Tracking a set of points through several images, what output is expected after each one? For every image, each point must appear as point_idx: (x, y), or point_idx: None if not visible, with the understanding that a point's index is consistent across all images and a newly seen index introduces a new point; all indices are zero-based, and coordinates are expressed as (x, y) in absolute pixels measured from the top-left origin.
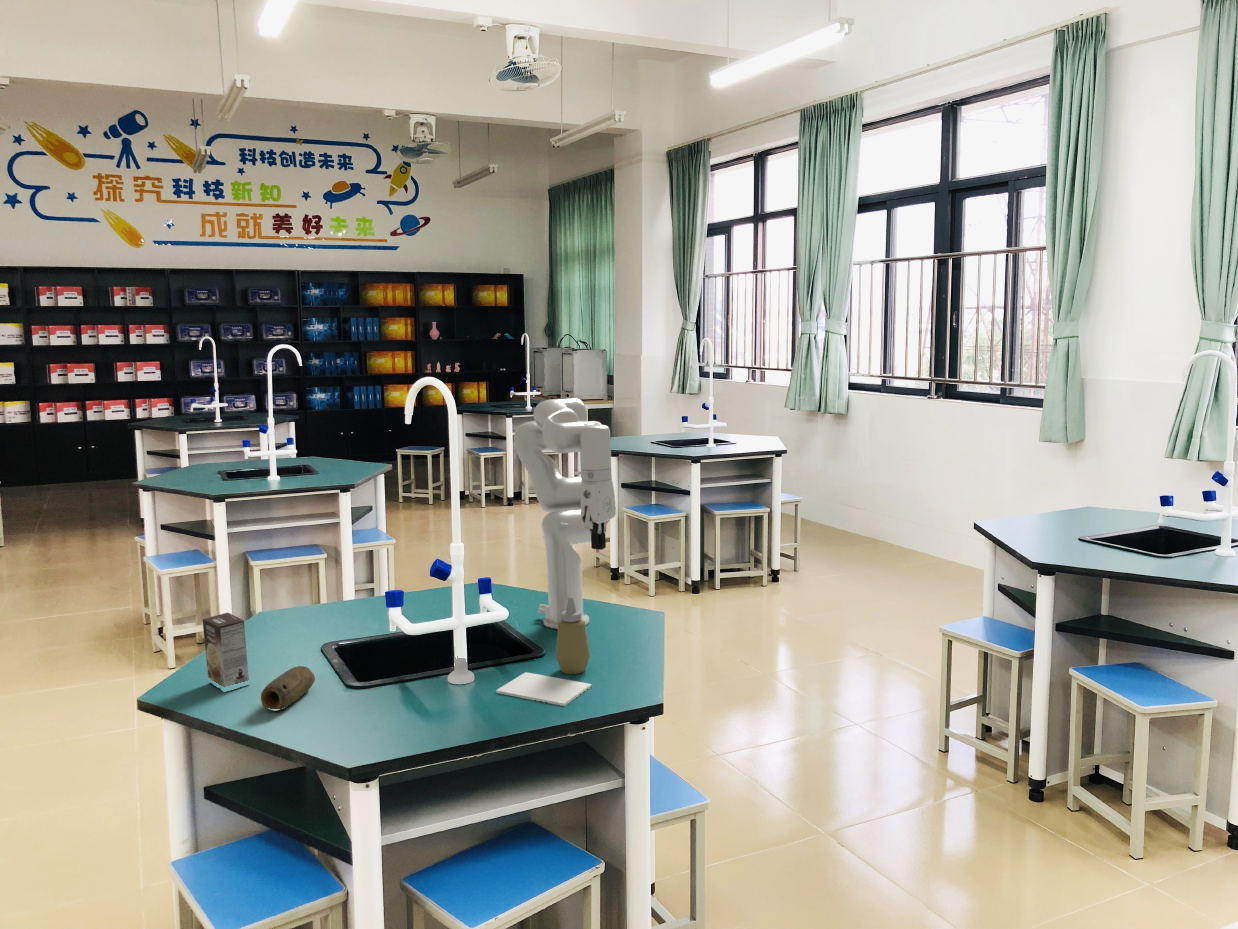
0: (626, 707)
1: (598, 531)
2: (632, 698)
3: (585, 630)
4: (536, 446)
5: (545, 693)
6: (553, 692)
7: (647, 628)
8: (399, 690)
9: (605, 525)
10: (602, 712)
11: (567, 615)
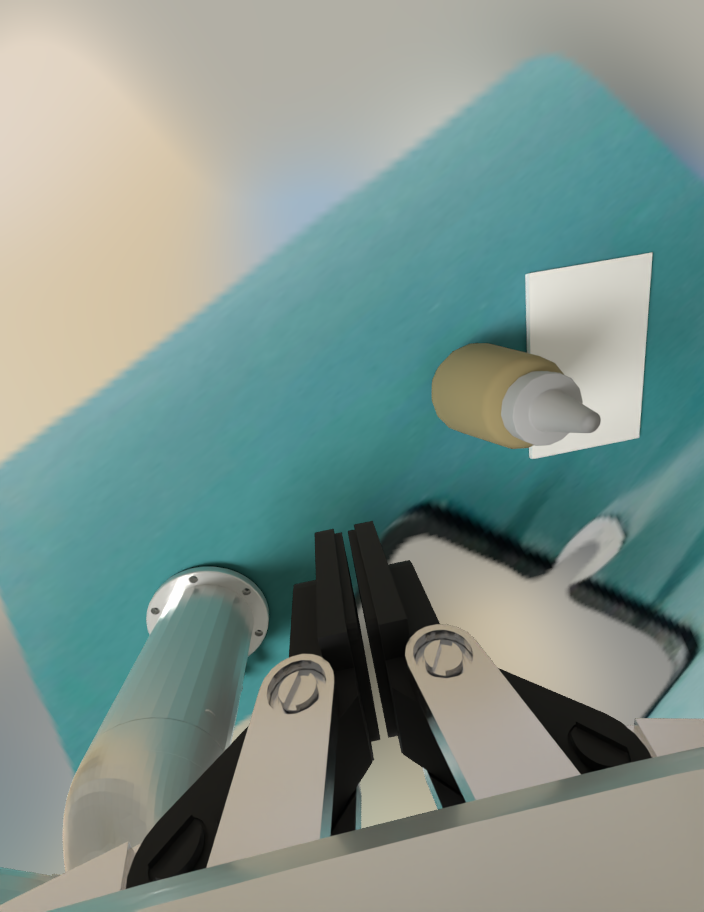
0: (600, 97)
1: (487, 663)
2: (544, 120)
3: (499, 358)
4: None
5: (617, 333)
6: (606, 321)
7: (89, 424)
8: (681, 584)
9: (276, 758)
10: (646, 140)
11: (581, 399)
